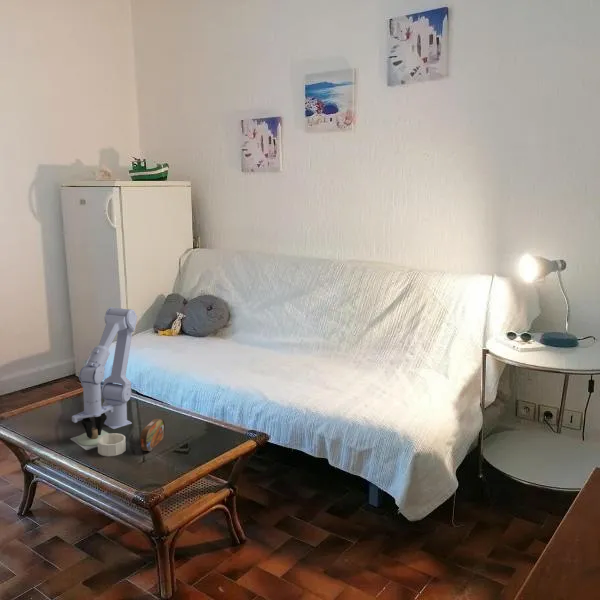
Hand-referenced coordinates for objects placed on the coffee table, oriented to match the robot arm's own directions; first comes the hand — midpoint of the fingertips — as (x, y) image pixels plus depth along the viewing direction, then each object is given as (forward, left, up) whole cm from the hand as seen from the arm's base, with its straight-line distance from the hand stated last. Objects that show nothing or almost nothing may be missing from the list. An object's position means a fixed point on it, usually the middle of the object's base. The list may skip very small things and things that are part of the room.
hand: (93, 435), depth 209 cm
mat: (0, 0, -2) cm, 2 cm away
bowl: (+11, +1, -2) cm, 12 cm away
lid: (0, 0, -1) cm, 1 cm away
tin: (+17, +13, -2) cm, 22 cm away
